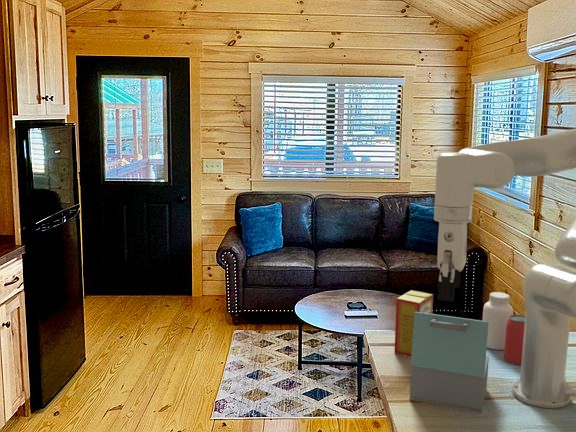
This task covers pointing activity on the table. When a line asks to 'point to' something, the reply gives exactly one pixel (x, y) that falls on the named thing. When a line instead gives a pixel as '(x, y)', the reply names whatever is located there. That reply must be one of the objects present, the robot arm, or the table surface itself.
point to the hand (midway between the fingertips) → (448, 293)
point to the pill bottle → (497, 319)
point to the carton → (449, 388)
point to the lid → (449, 344)
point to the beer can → (514, 339)
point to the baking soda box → (409, 318)
